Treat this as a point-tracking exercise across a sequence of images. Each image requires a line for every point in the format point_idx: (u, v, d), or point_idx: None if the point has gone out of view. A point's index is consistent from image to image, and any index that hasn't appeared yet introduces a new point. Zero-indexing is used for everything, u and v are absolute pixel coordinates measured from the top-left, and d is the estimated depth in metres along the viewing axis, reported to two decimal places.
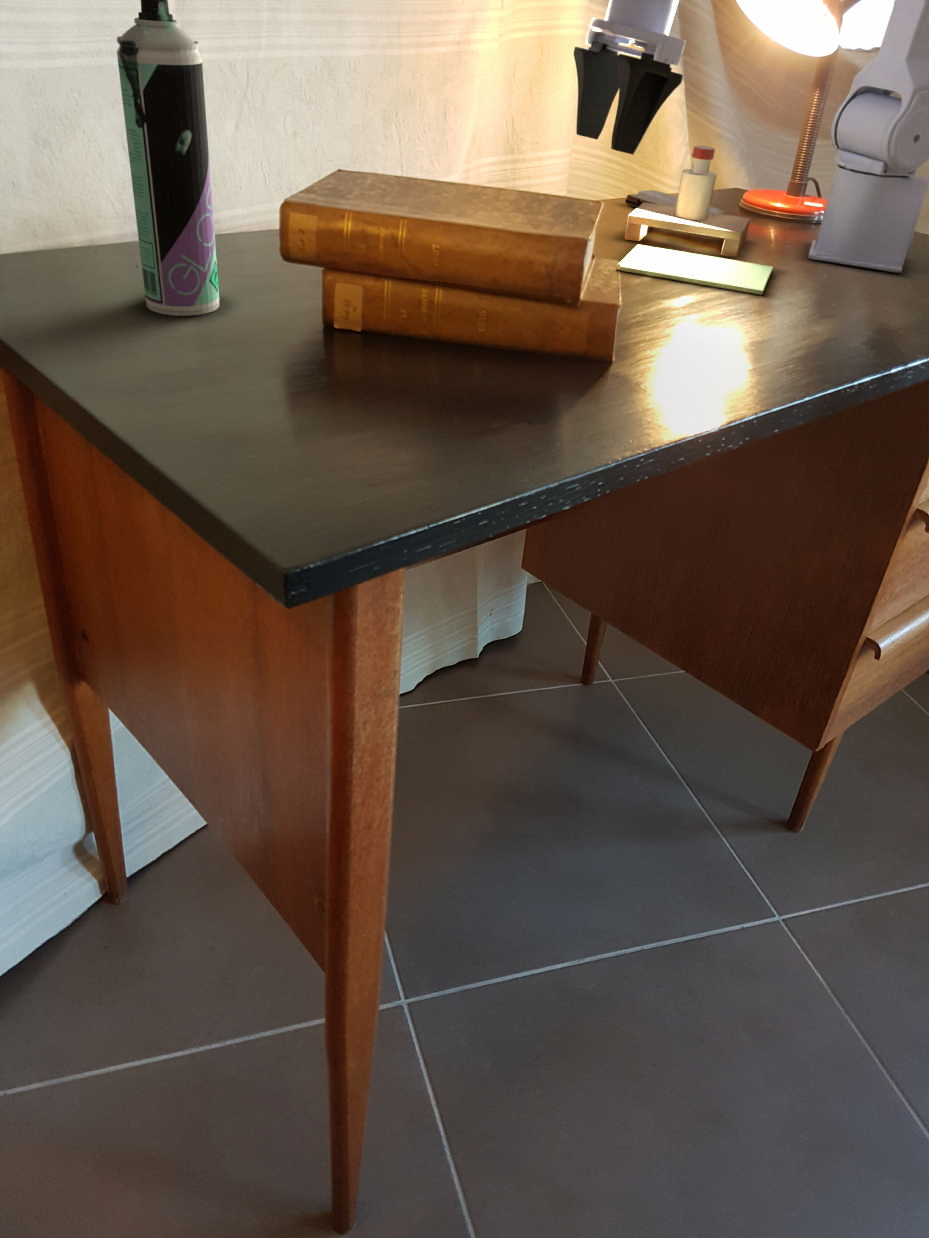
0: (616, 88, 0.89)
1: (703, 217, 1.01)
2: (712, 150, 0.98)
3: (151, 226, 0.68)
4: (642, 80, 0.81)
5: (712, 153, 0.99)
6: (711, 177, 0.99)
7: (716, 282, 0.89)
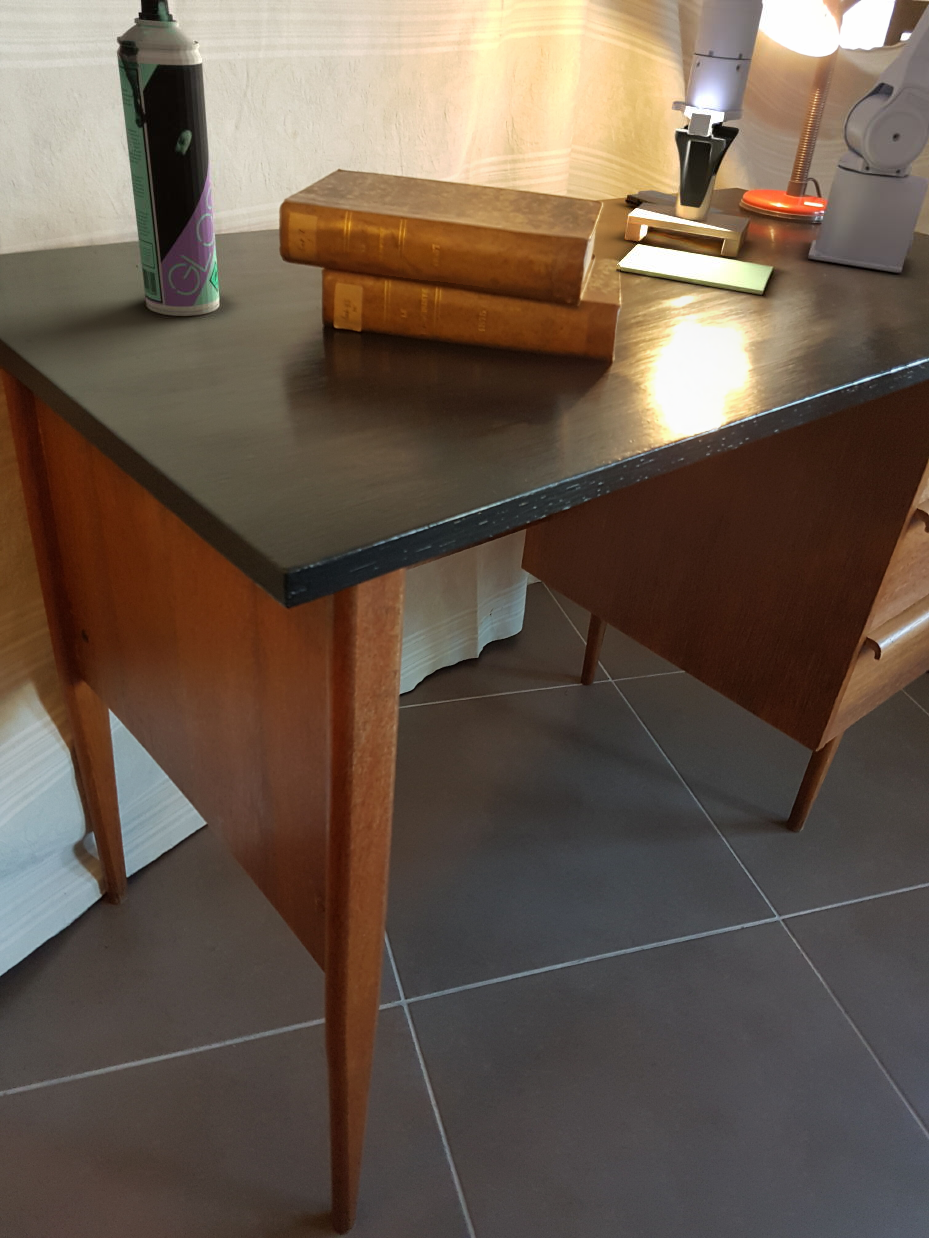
0: (720, 157, 1.01)
1: (703, 217, 1.01)
2: None
3: (151, 226, 0.68)
4: (697, 147, 0.97)
5: None
6: None
7: (716, 282, 0.89)
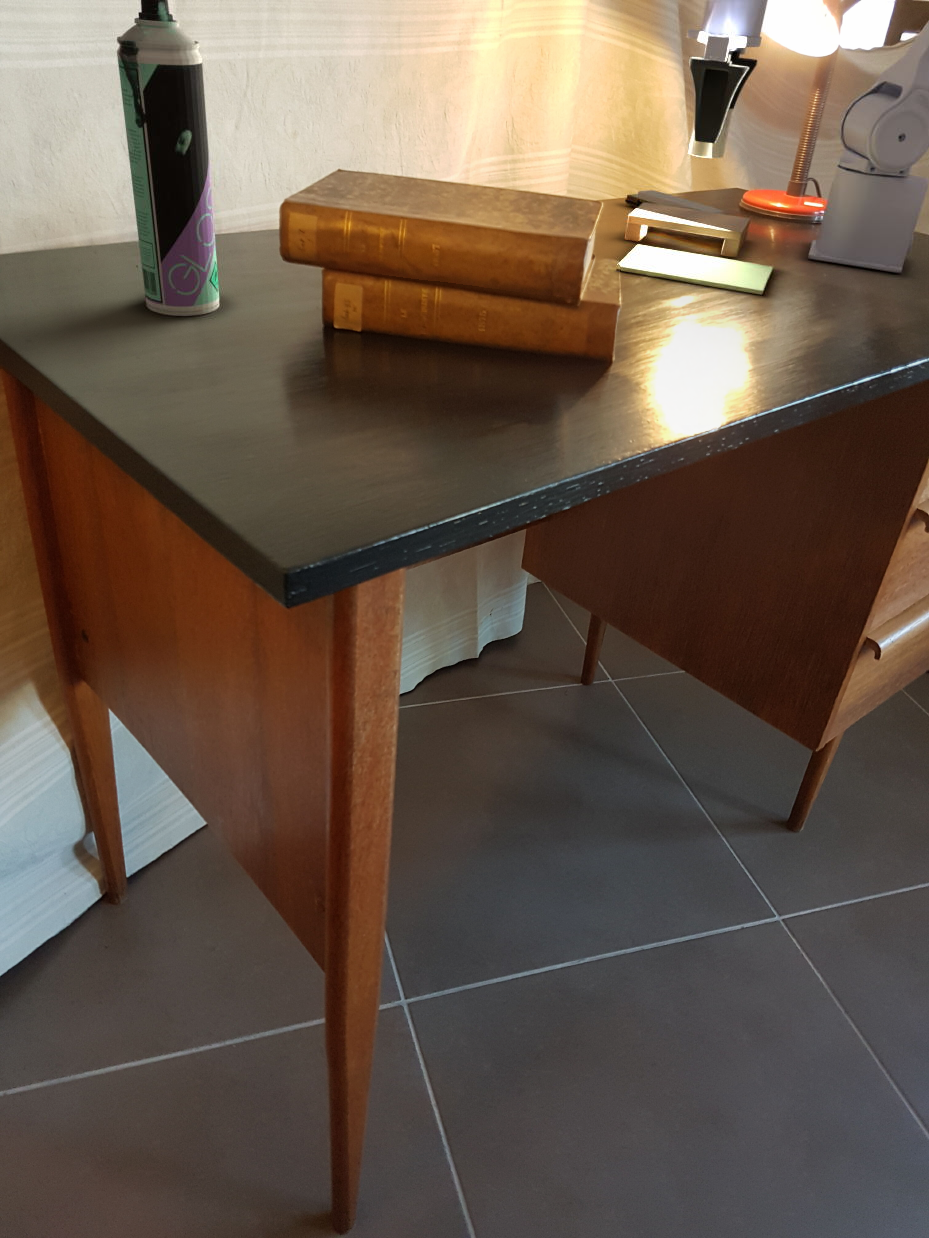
0: (737, 90, 0.95)
1: (719, 154, 0.96)
2: None
3: (151, 226, 0.68)
4: (713, 77, 0.92)
5: None
6: (728, 111, 0.94)
7: (716, 282, 0.89)
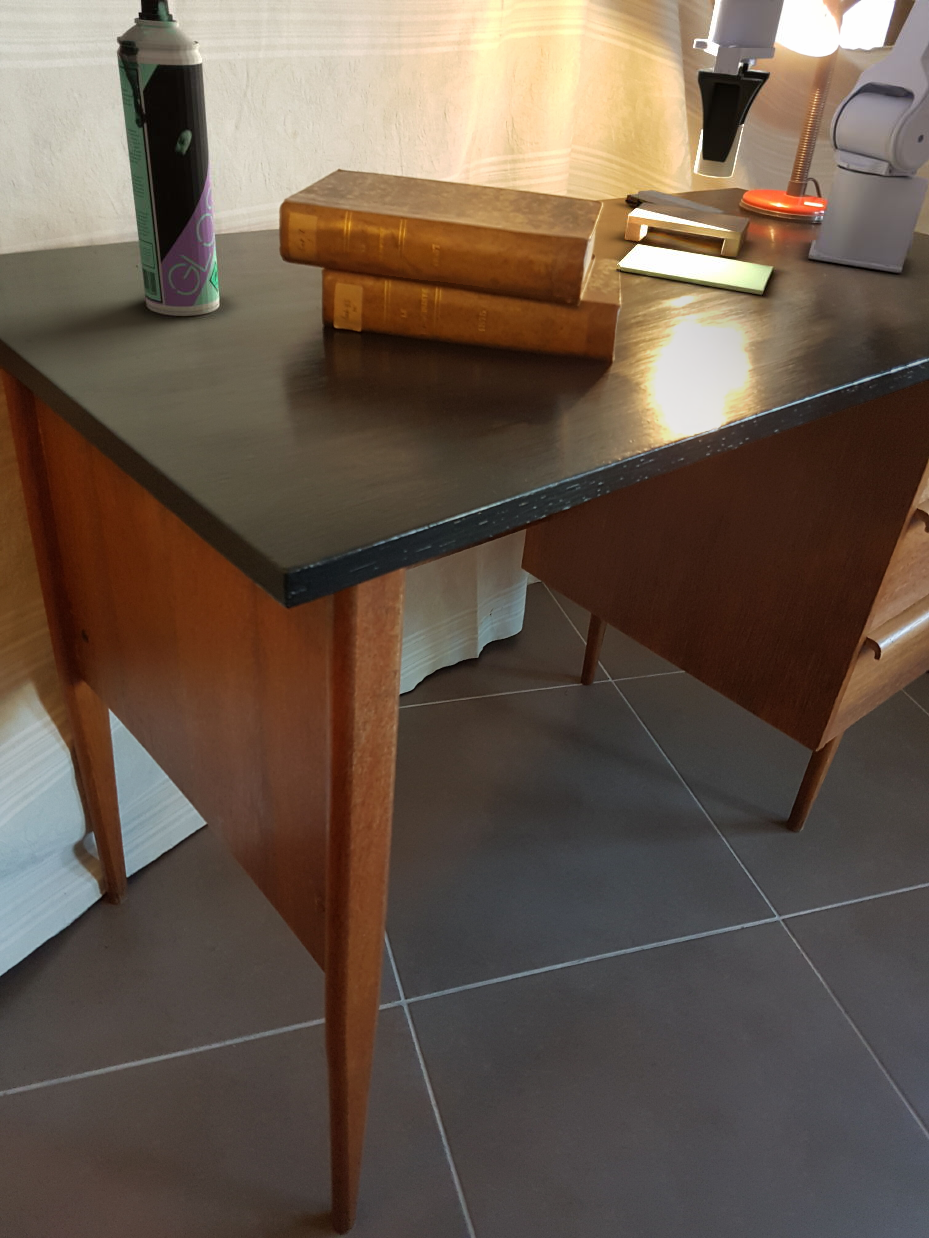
0: (748, 104, 0.88)
1: (728, 174, 0.89)
2: None
3: (151, 226, 0.68)
4: (723, 91, 0.84)
5: None
6: None
7: (716, 282, 0.89)
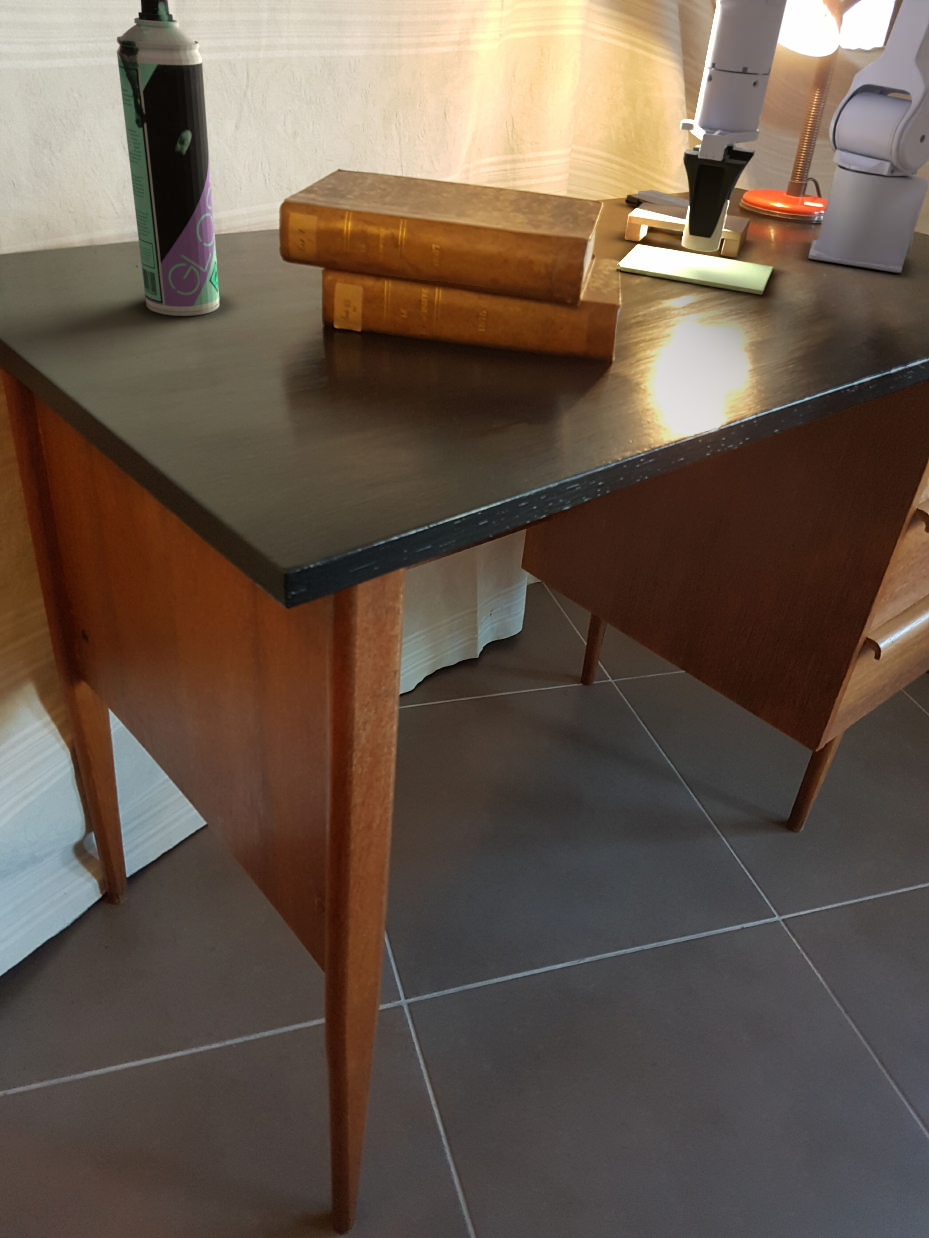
0: (733, 181, 0.91)
1: (714, 248, 0.91)
2: None
3: (151, 226, 0.68)
4: (708, 171, 0.87)
5: None
6: None
7: (716, 282, 0.89)
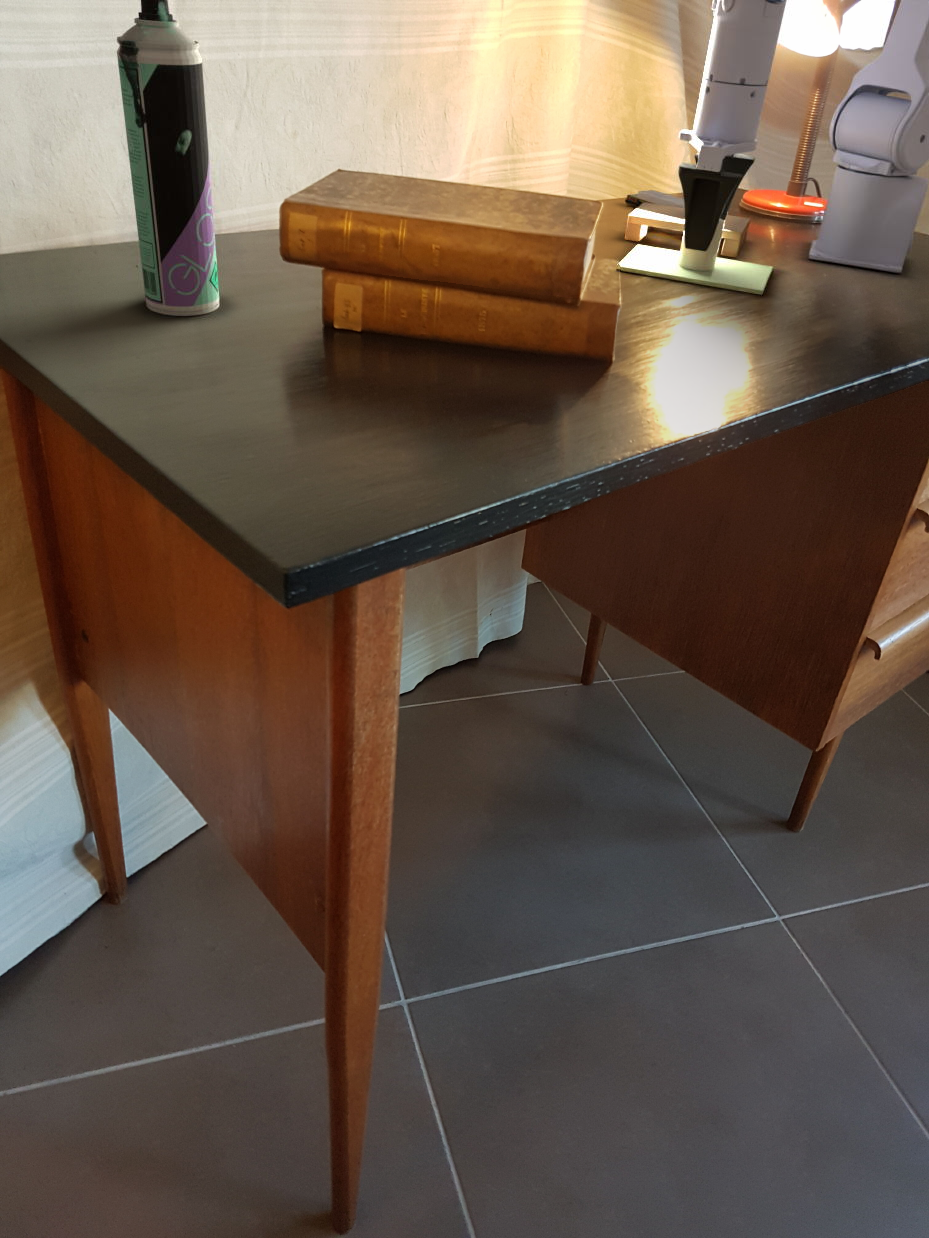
0: (734, 187, 0.92)
1: (710, 267, 0.93)
2: None
3: (151, 226, 0.68)
4: (704, 184, 0.86)
5: None
6: (719, 225, 0.90)
7: (716, 282, 0.89)
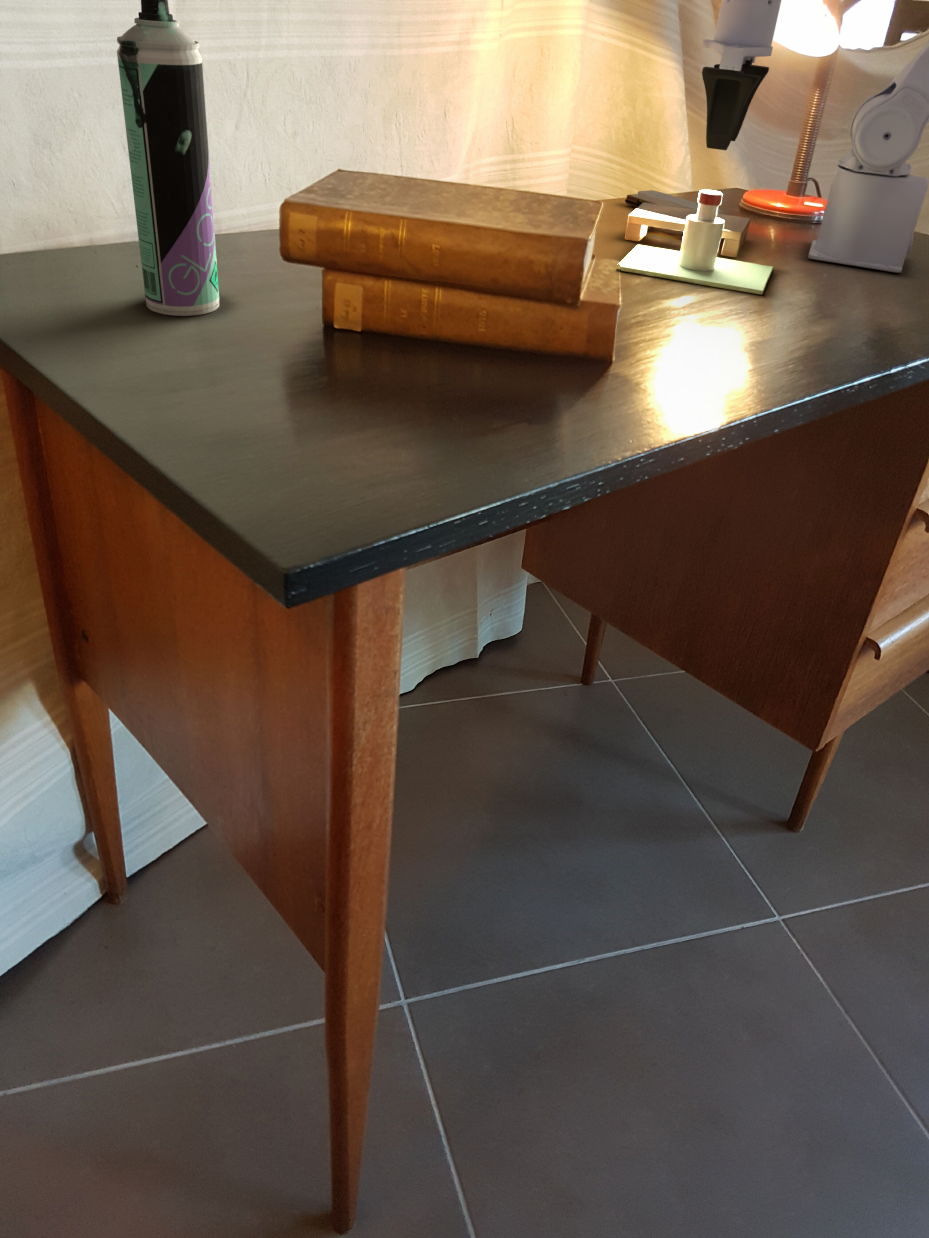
0: (750, 95, 1.01)
1: (710, 267, 0.93)
2: (720, 195, 0.89)
3: (151, 226, 0.68)
4: (725, 86, 0.95)
5: (720, 198, 0.90)
6: (719, 225, 0.90)
7: (716, 282, 0.89)
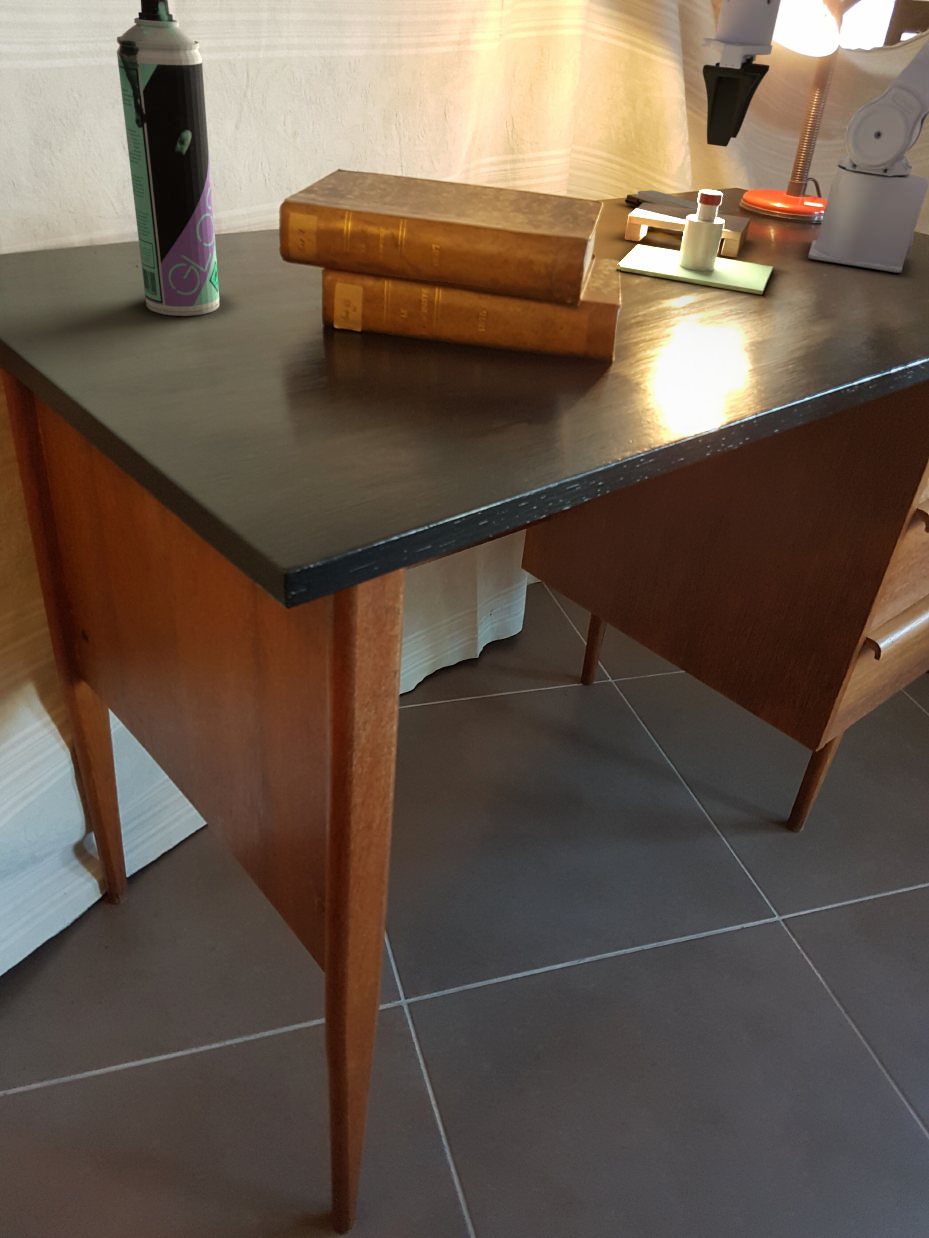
0: (750, 93, 1.03)
1: (710, 267, 0.93)
2: (720, 195, 0.89)
3: (151, 226, 0.68)
4: (725, 84, 0.97)
5: (720, 198, 0.90)
6: (719, 225, 0.90)
7: (716, 282, 0.89)
